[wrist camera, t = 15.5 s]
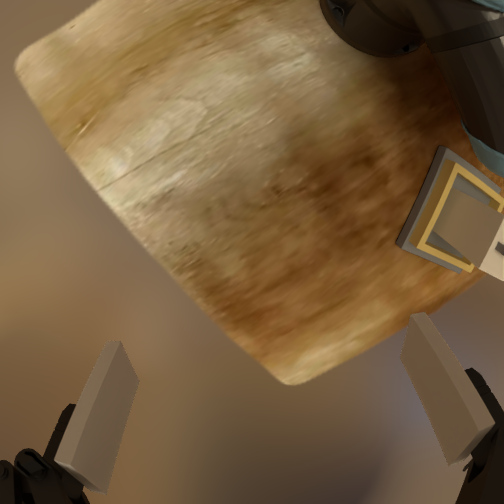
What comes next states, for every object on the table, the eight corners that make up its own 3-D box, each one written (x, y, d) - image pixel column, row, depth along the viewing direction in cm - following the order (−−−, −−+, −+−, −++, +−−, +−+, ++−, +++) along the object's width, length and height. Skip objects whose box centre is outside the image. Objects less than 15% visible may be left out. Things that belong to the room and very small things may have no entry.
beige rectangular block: (451, 186, 36) (515, 222, 24) (478, 204, 37) (539, 242, 25) (431, 229, 39) (488, 277, 26) (460, 244, 40) (514, 290, 28)
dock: (439, 145, 36) (457, 150, 32) (493, 185, 38) (510, 193, 34) (395, 242, 42) (408, 256, 38) (454, 268, 44) (467, 281, 40)
